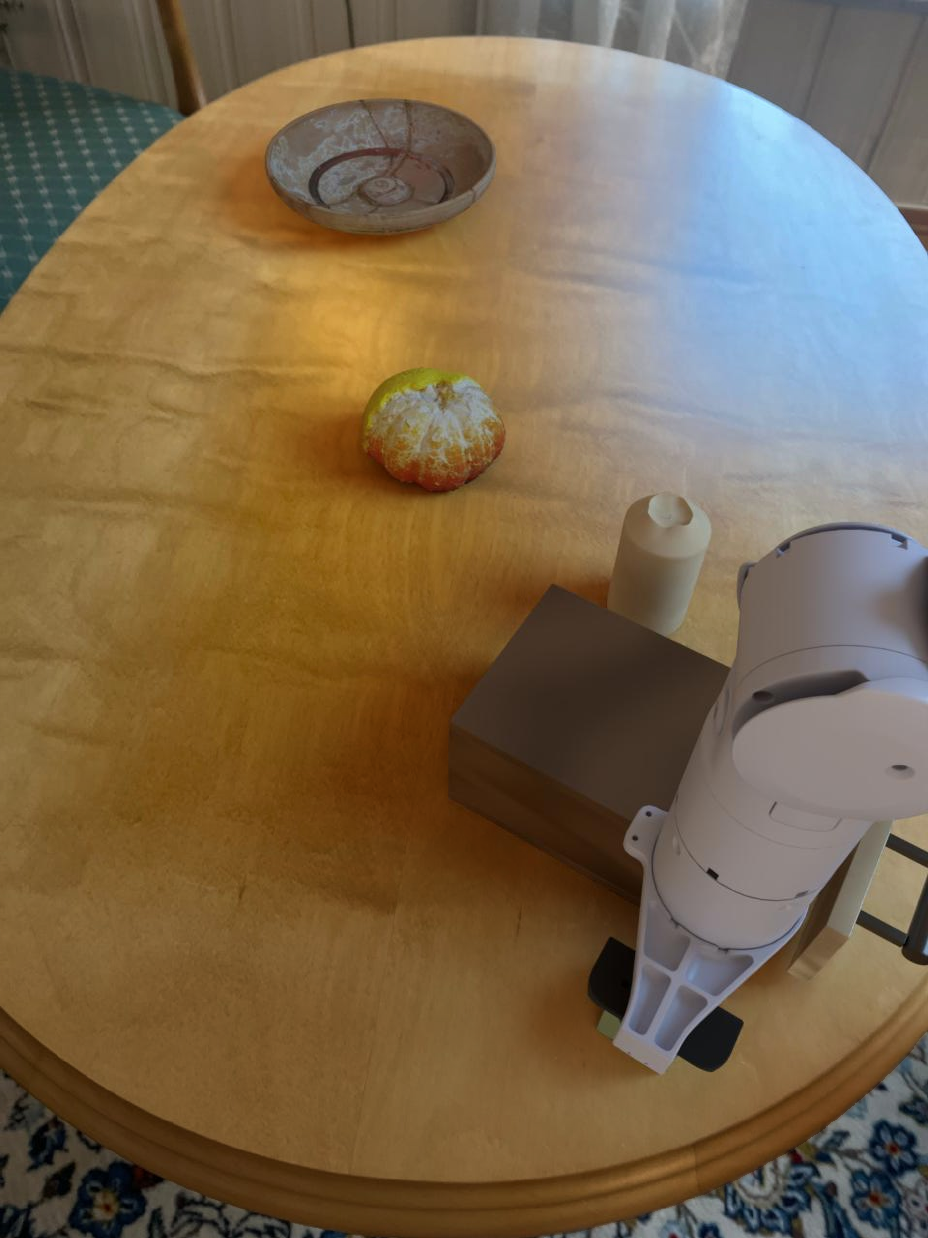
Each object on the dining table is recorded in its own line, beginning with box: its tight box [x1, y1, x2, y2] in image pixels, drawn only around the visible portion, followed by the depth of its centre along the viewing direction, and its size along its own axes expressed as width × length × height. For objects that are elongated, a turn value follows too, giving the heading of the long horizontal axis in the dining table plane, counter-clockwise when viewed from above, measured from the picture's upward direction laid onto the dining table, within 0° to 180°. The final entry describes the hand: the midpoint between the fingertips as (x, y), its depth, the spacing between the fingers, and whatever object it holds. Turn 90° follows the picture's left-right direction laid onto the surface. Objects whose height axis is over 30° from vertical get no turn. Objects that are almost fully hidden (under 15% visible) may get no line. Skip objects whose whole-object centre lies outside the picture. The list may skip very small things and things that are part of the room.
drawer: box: [786, 820, 928, 984], centre depth 53 cm, size 17×10×7 cm, turn 58°
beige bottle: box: [606, 491, 713, 637], centre depth 64 cm, size 6×6×10 cm
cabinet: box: [447, 583, 731, 908], centre depth 56 cm, size 14×12×9 cm
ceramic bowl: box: [264, 97, 497, 236], centre depth 99 cm, size 23×24×5 cm
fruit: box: [360, 366, 507, 494], centre depth 75 cm, size 11×10×8 cm
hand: (681, 956), depth 44 cm, fingers open, 7 cm apart
